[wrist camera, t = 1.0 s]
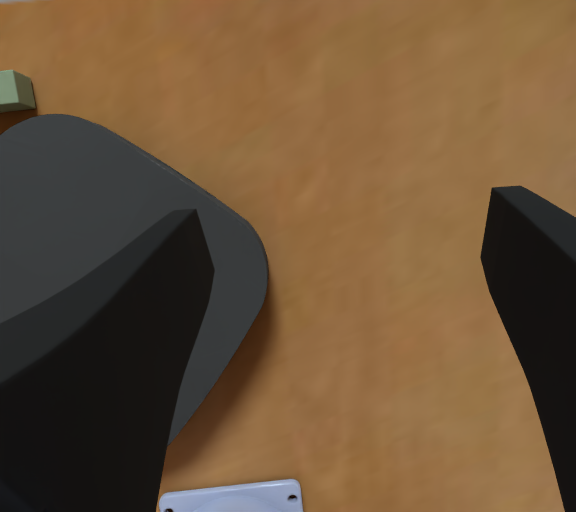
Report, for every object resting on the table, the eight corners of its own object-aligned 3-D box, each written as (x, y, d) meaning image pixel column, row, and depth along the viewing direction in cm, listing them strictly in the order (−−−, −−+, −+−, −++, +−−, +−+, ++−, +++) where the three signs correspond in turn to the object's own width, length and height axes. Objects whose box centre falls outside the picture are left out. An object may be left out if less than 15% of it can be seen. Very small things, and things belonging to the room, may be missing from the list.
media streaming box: (154, 463, 25) (137, 500, 22) (-81, 326, 24) (-133, 345, 21) (297, 249, 23) (299, 258, 20) (54, 90, 22) (18, 73, 19)
